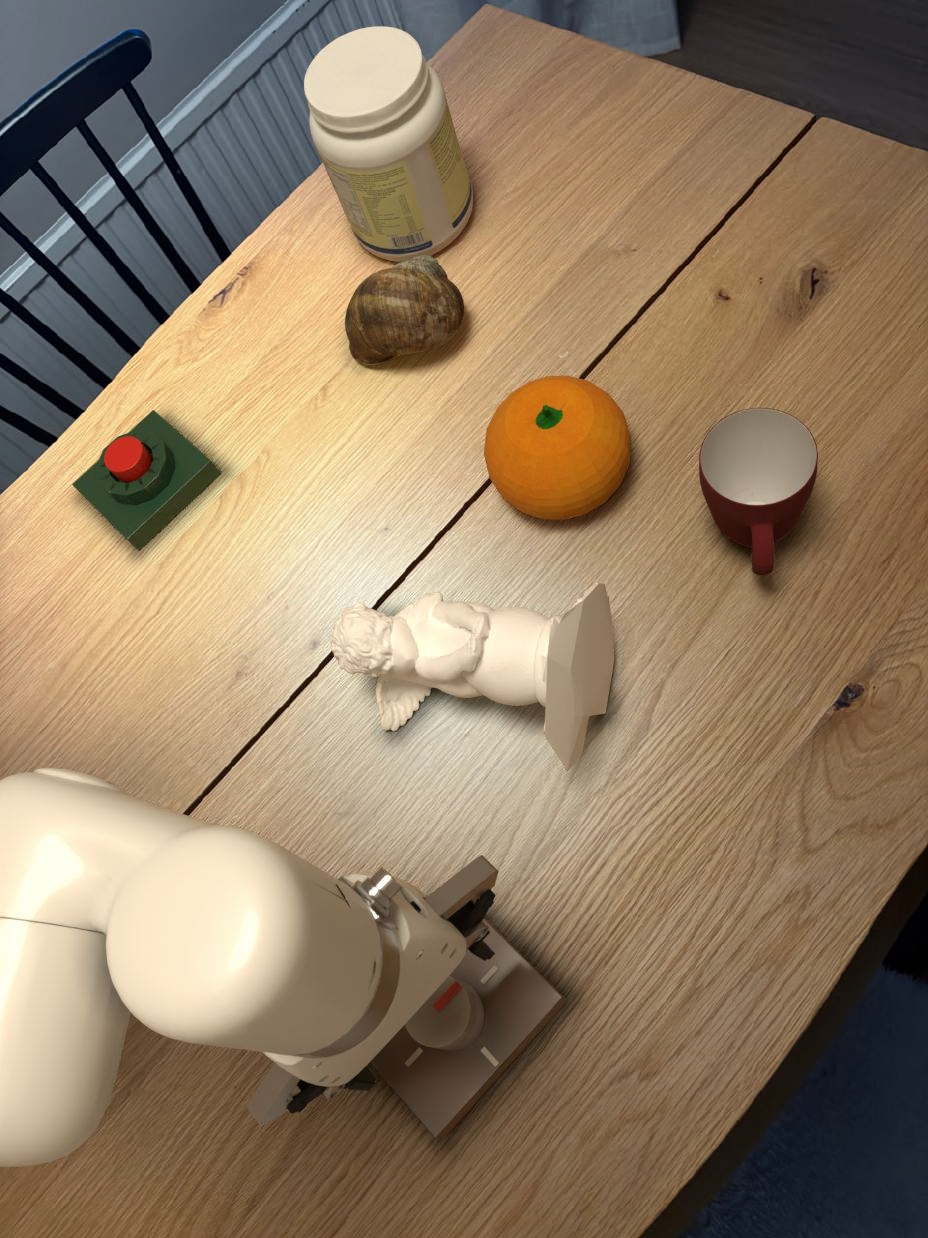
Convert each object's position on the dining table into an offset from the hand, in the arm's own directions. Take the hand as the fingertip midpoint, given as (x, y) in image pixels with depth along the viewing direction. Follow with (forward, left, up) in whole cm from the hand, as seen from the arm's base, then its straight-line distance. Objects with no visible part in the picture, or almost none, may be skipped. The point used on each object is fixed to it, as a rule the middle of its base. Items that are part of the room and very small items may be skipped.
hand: (415, 1001), depth 64 cm
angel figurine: (+18, +16, -13) cm, 27 cm away
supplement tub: (+48, +55, -13) cm, 74 cm away
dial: (0, 0, -10) cm, 10 cm away
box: (+12, +53, -13) cm, 56 cm away
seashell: (+38, +45, -13) cm, 60 cm away
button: (+12, +53, -9) cm, 55 cm away
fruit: (+36, +24, -13) cm, 45 cm away
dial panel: (0, 0, -13) cm, 13 cm away
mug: (+41, +8, -13) cm, 44 cm away
